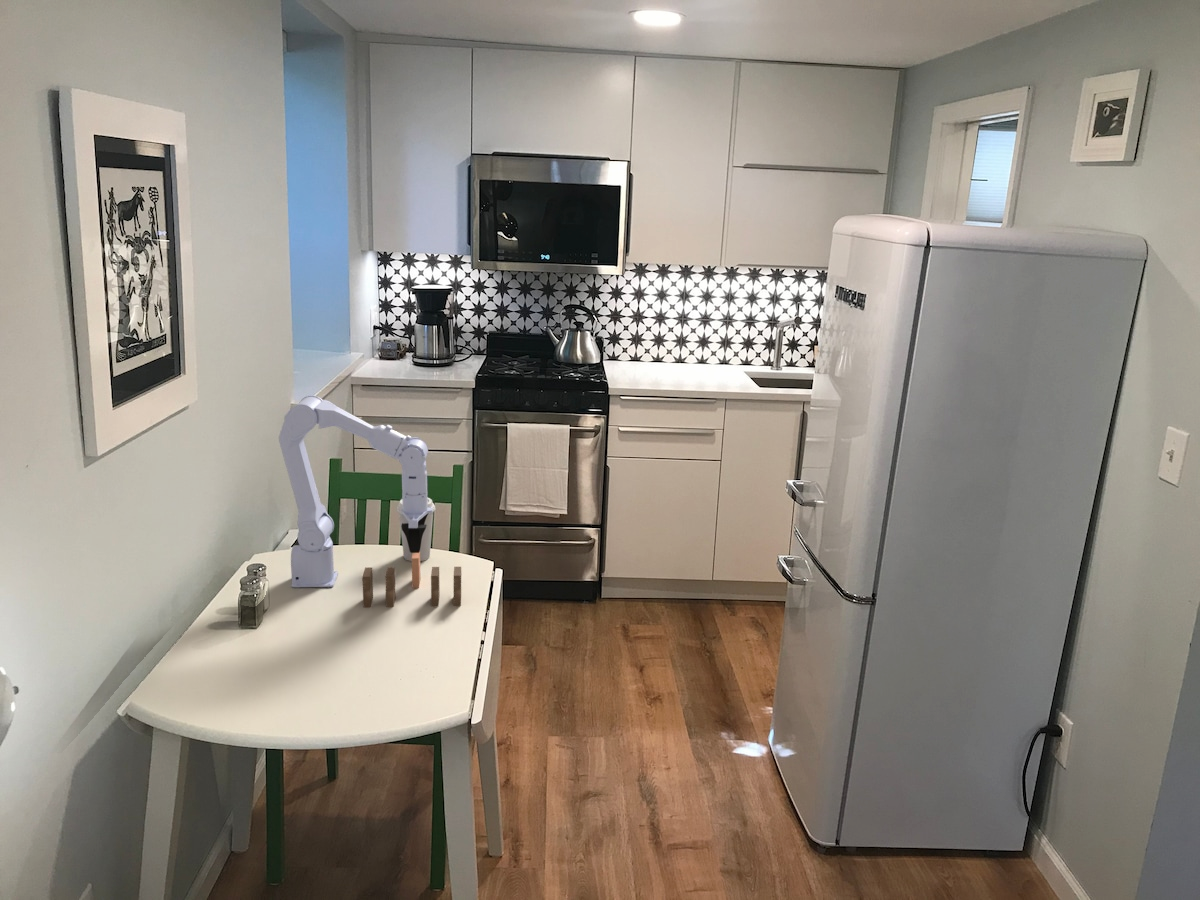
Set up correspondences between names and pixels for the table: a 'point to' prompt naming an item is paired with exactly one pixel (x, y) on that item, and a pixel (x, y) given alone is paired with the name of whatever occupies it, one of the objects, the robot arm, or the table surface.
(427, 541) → the coffee cup
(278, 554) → the table surface
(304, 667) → the table surface
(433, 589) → the domino
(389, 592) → the domino
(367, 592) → the domino
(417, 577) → the domino
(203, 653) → the table surface
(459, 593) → the domino
